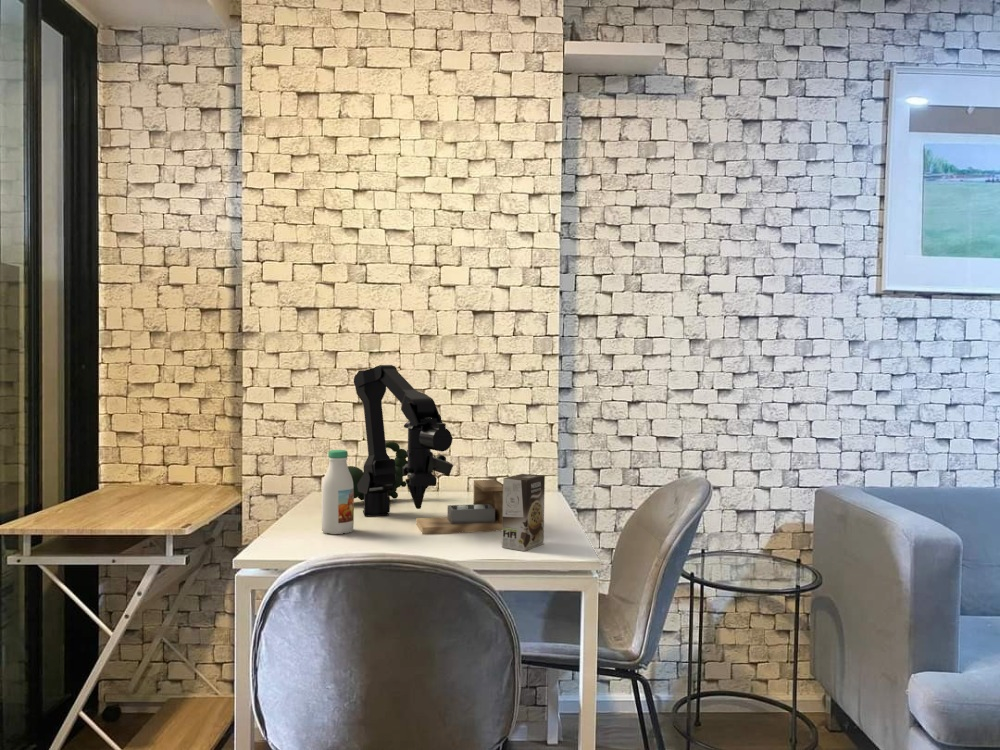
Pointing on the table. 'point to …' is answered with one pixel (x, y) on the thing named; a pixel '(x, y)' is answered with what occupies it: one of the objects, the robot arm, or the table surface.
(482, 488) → the wooden l-shaped stand
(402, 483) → the toy figurine
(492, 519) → the tray
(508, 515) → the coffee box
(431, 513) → the table surface
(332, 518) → the milk bottle
